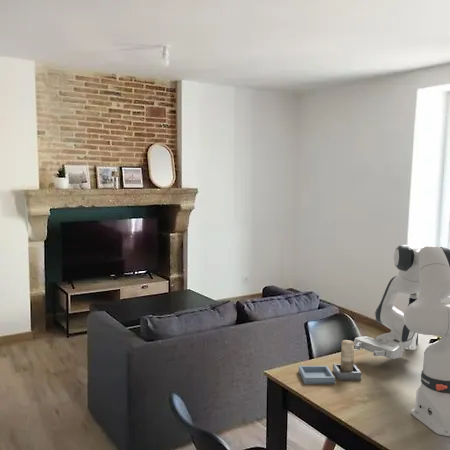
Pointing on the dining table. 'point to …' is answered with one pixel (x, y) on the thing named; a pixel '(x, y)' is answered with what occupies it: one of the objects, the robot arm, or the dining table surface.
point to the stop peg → (347, 356)
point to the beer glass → (413, 344)
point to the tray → (316, 375)
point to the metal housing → (346, 373)
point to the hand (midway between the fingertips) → (365, 350)
